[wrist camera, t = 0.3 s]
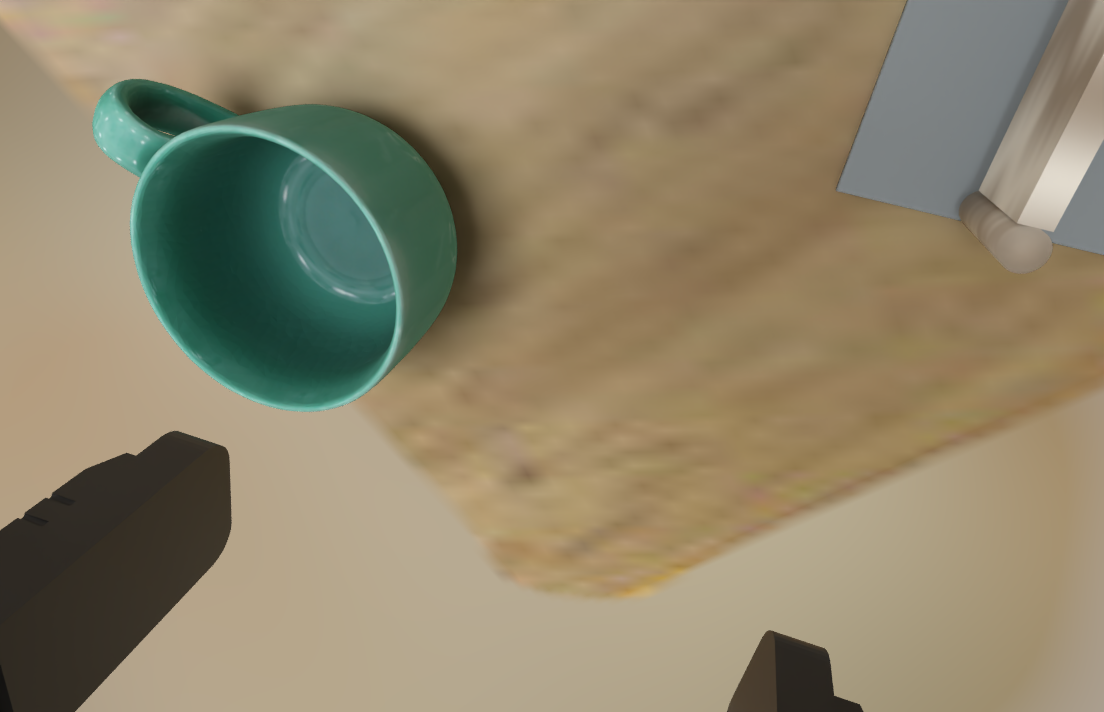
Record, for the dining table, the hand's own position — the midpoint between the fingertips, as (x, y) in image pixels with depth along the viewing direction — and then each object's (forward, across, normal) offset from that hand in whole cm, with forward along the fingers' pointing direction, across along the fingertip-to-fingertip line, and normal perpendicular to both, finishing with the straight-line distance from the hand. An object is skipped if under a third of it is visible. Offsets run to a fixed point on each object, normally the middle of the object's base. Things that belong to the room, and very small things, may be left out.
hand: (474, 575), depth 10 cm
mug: (+27, +16, +5) cm, 32 cm away
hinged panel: (+25, -13, -8) cm, 29 cm away
